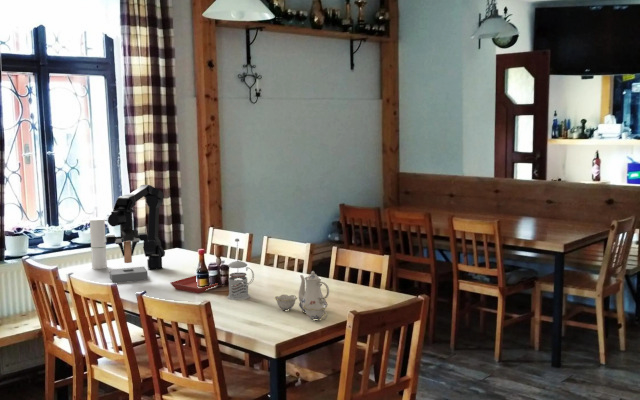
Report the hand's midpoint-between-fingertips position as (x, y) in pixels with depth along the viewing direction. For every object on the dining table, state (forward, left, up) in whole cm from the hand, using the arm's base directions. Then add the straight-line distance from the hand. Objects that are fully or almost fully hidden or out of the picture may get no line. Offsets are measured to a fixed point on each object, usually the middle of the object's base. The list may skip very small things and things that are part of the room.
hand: (127, 255), depth 317 cm
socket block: (0, 0, -11) cm, 11 cm away
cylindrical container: (+11, -32, -11) cm, 36 cm away
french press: (-40, +53, -11) cm, 67 cm away
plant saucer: (-27, +30, -12) cm, 42 cm away
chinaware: (-57, +87, -11) cm, 105 cm away
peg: (0, 0, -3) cm, 3 cm away
